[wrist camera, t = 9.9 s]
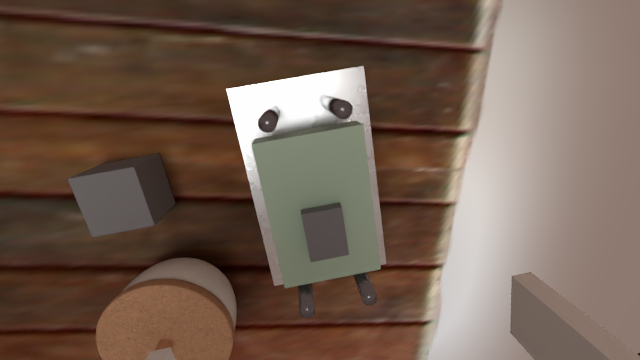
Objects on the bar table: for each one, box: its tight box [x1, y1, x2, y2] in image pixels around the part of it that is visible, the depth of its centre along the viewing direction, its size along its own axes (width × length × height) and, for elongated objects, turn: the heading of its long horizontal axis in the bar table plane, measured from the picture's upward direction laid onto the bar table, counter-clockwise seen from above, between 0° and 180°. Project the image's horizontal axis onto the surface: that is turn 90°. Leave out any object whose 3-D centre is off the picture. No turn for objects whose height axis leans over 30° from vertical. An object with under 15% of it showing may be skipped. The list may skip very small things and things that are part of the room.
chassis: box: [226, 66, 386, 318], centre depth 27 cm, size 12×20×9 cm, turn 9°
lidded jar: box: [96, 258, 237, 360], centre depth 29 cm, size 11×11×9 cm
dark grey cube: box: [68, 154, 176, 237], centre depth 27 cm, size 5×5×5 cm
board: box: [251, 121, 381, 288], centre depth 25 cm, size 8×12×4 cm, turn 9°
